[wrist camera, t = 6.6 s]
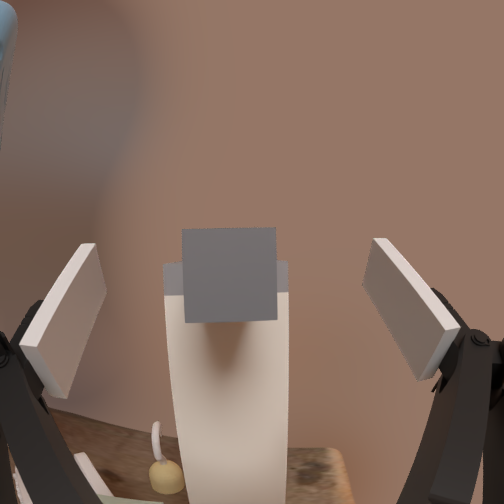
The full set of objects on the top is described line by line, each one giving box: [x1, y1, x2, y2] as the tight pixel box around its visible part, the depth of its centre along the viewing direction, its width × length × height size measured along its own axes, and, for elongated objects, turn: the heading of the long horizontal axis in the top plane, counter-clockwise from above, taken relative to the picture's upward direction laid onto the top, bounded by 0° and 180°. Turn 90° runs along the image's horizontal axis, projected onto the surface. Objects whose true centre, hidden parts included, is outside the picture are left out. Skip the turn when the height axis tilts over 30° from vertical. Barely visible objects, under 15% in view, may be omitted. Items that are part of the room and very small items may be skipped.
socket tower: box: [163, 260, 289, 504], centre depth 27 cm, size 8×14×34 cm, turn 6°
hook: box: [149, 421, 185, 494], centre depth 37 cm, size 6×5×12 cm
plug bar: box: [182, 228, 278, 323], centre depth 22 cm, size 4×20×4 cm, turn 6°
